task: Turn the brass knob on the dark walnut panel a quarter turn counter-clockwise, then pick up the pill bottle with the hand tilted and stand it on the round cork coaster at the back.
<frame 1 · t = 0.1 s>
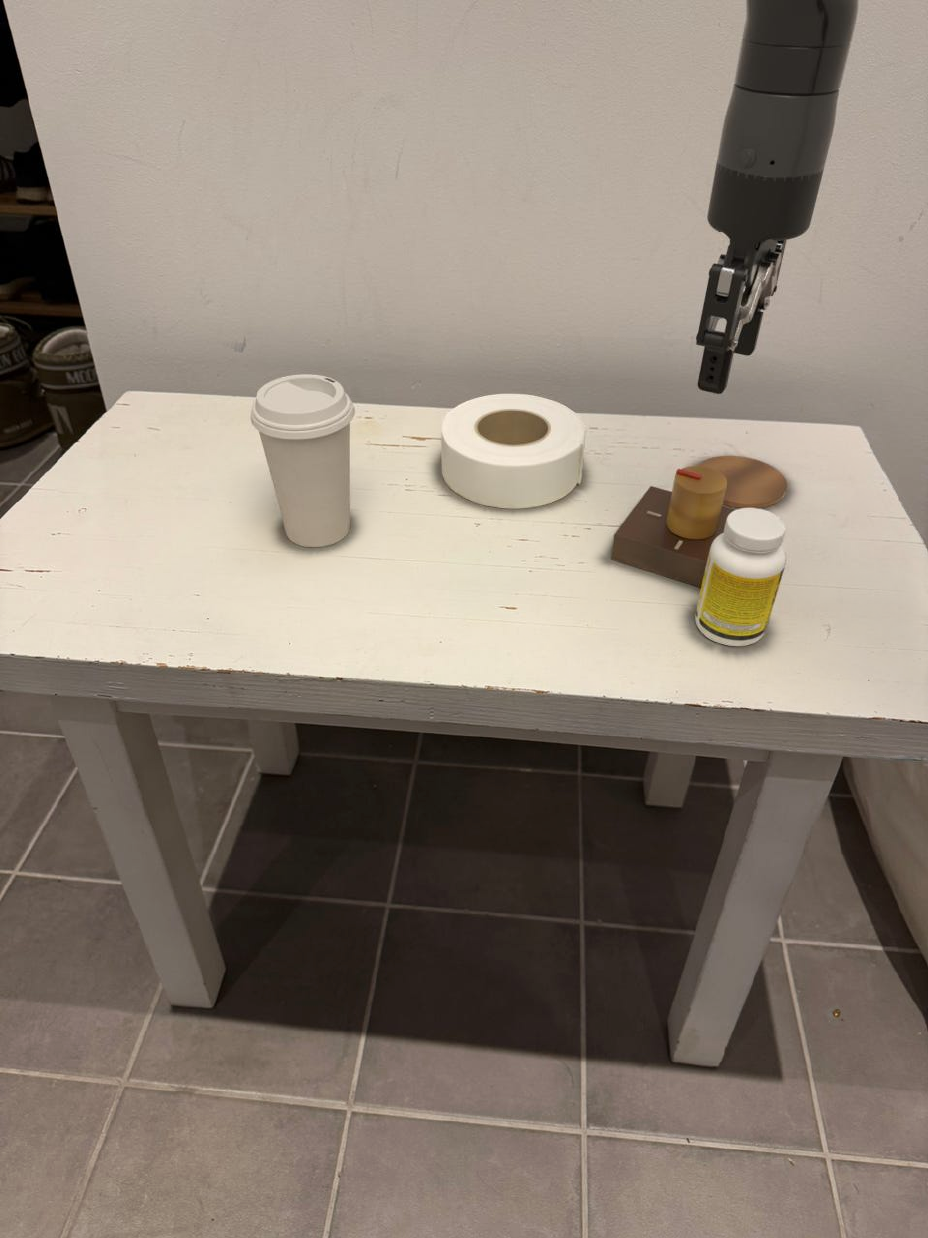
hand: (726, 370, 73), 19 cm above the table, tool pointing down, fingers open, 8 cm apart
tape roll: (511, 472, 97), on the table
panel: (686, 550, 86), on the table
knob: (696, 501, 82), point 6 cm above the table, hinge at 0.0°
coaster: (738, 483, 95), on the table
pill bottle: (728, 627, 77), on the table
coffee cup: (318, 530, 89), on the table
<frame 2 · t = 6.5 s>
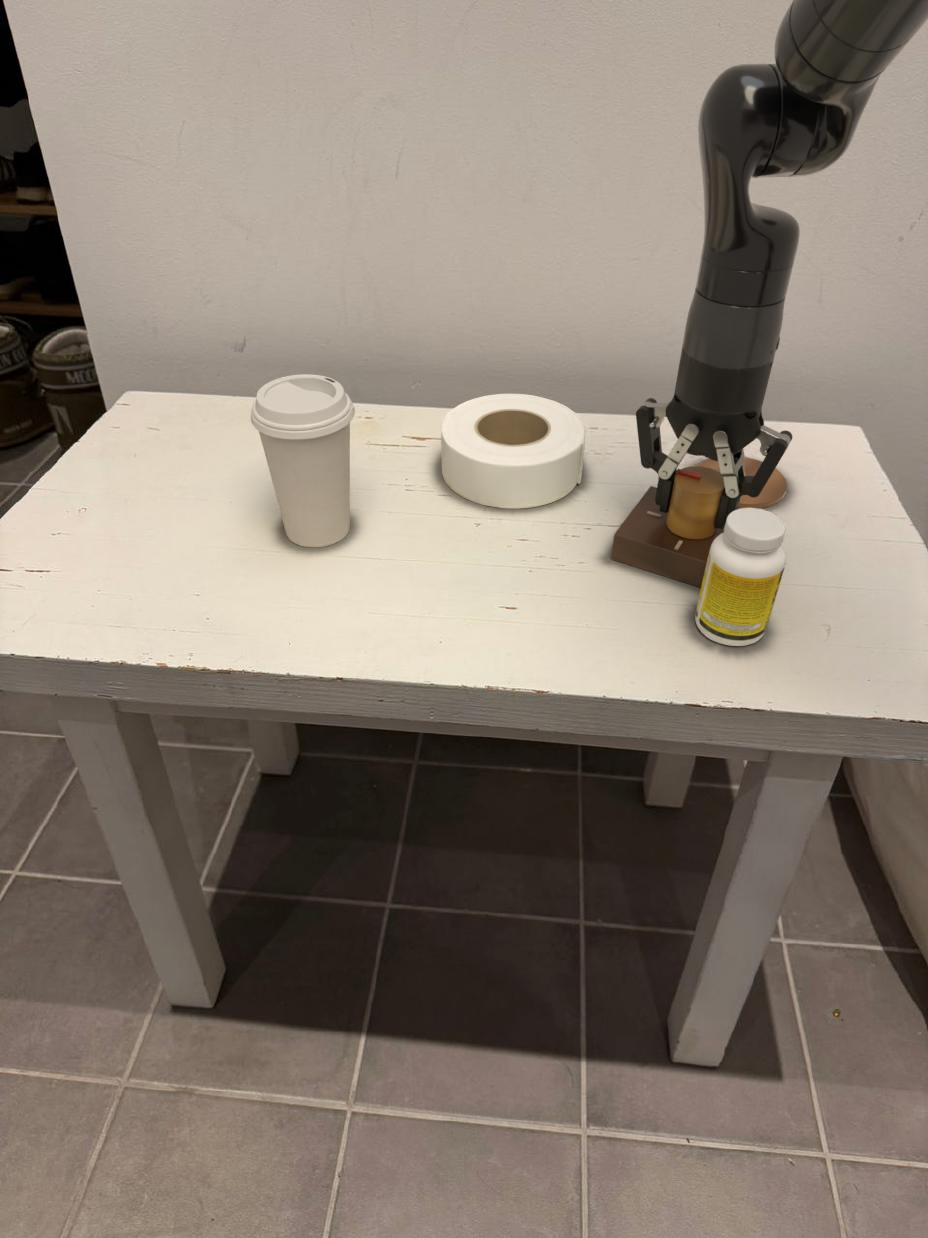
hand: (693, 515, 83), 4 cm above the table, tool pointing down, fingers closed on knob, 5 cm apart
knob: (696, 501, 82), point 6 cm above the table, hinge at 0.0°, touching gripper
everything else where it was.
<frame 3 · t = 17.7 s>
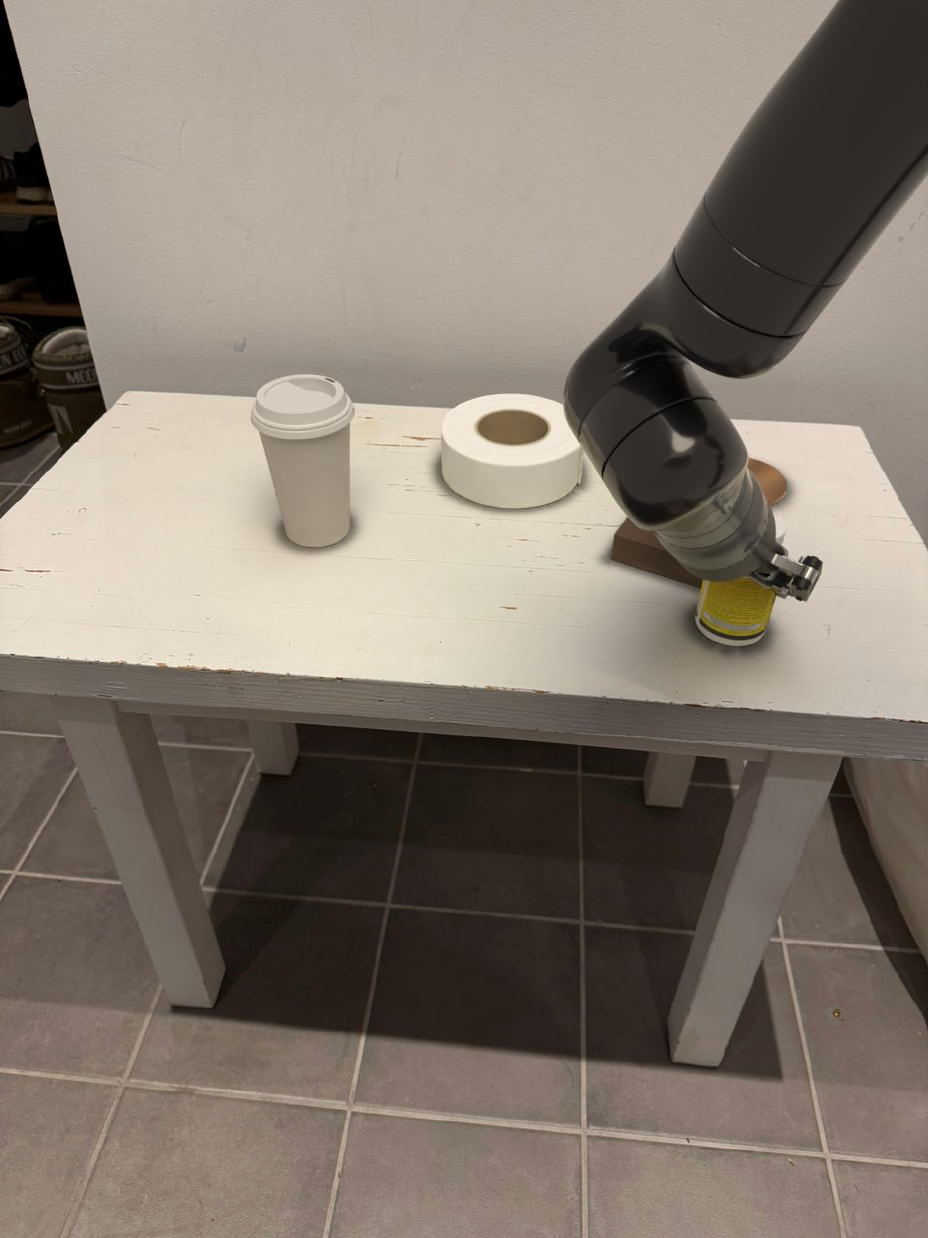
hand: (749, 571, 75), 5 cm above the table, tool tilted 45°, fingers closed on pill bottle, 6 cm apart
knob: (696, 501, 82), point 6 cm above the table, hinge at 93.2°
pill bottle: (728, 627, 77), on the table, touching gripper
everything else where it was.
when the fingers open (6 cm above the table, at t = 27.3 s): pill bottle stays where it is, resting on coaster.
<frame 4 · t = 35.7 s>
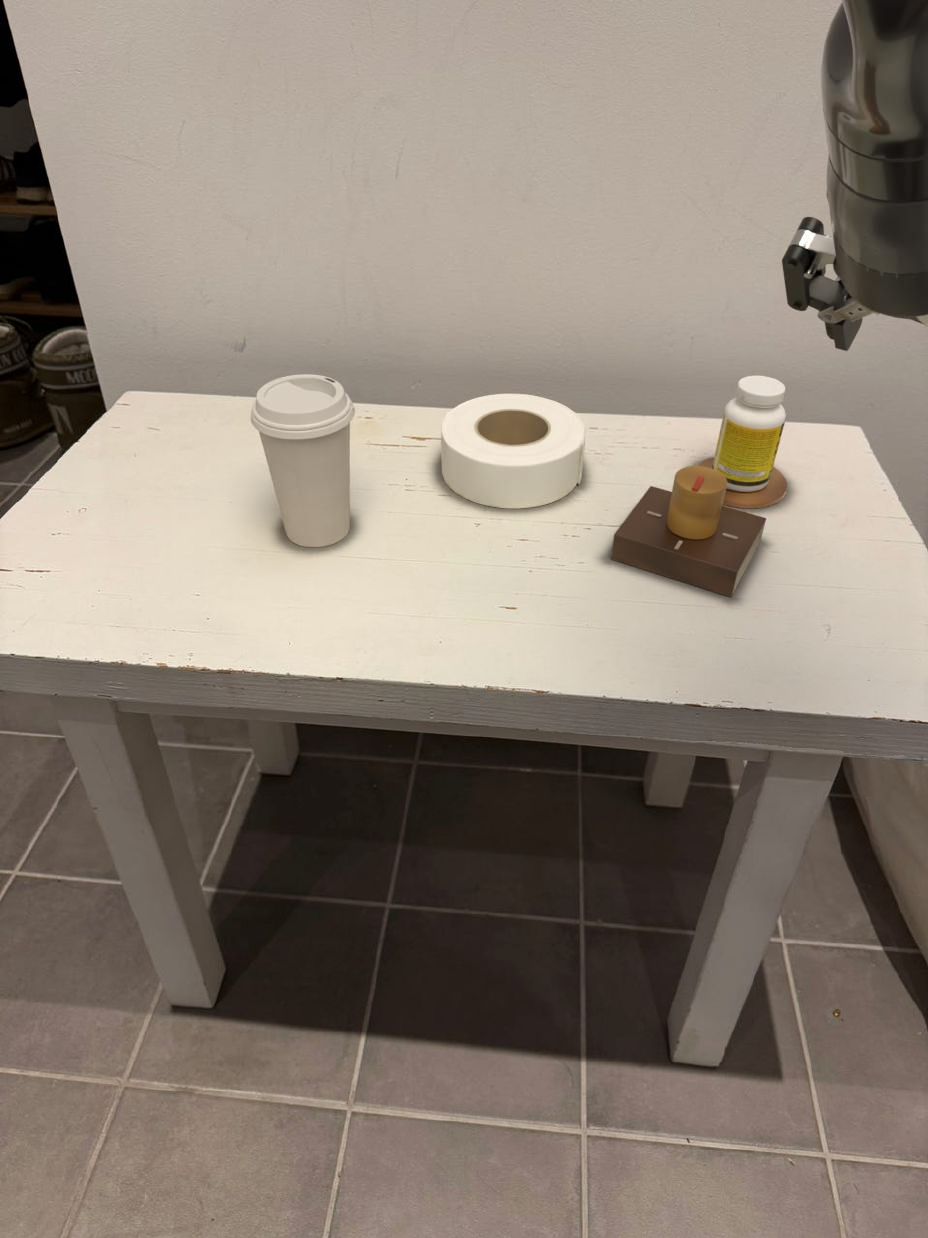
hand: (917, 354, 53), 29 cm above the table, tool tilted 45°, fingers open, 8 cm apart
pill bottle: (739, 480, 95), resting on coaster
everything else where it was.
at the end: knob at +93° (first picture: +0°); pill bottle 0.1 cm off-centre on the coaster, point 0.4 cm above the coaster's base; pill bottle tilted 0° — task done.
